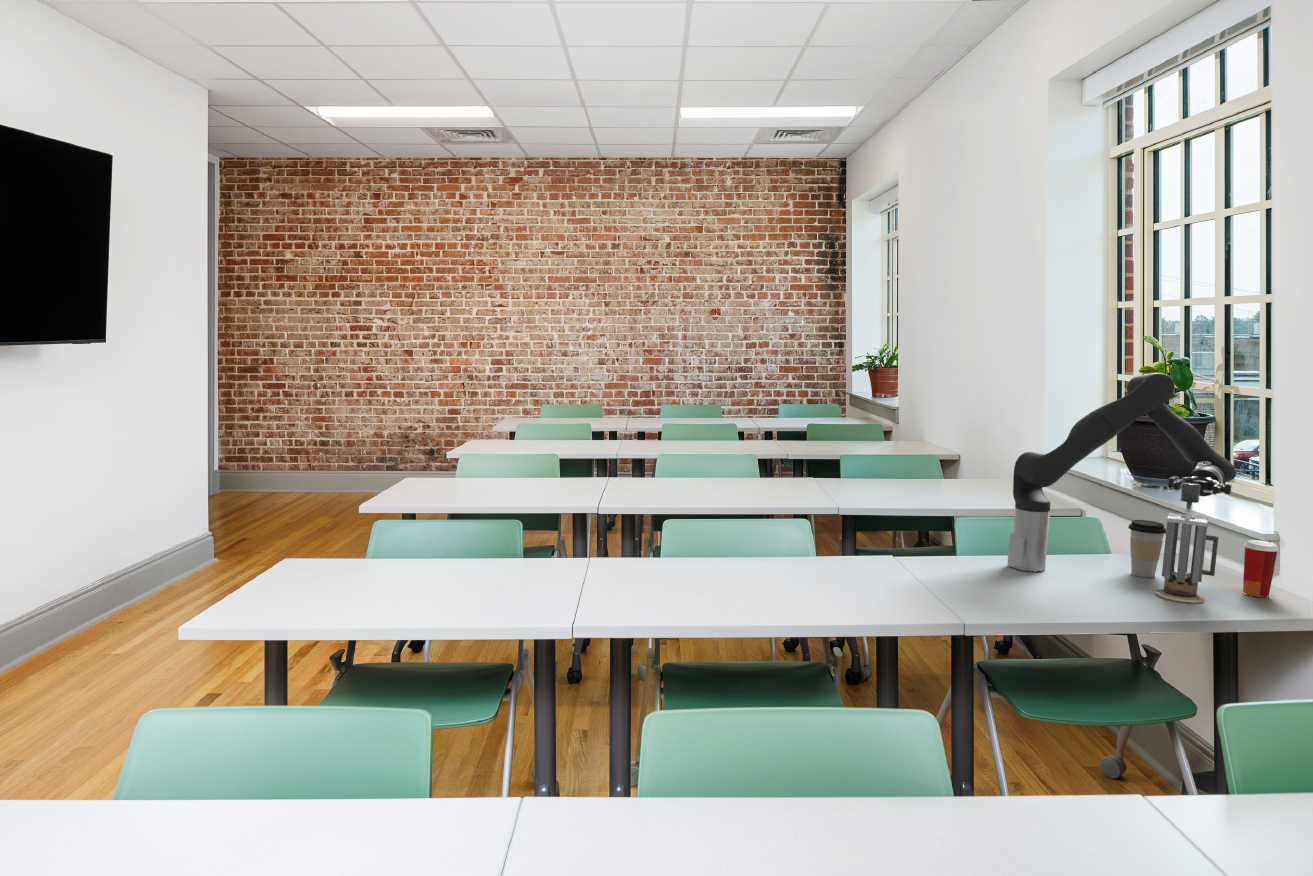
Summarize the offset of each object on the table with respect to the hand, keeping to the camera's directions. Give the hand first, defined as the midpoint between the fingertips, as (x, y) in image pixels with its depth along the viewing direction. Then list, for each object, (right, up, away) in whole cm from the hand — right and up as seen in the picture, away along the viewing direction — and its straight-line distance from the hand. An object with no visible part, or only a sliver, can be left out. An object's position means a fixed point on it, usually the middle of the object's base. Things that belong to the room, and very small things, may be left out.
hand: (1195, 488), depth 229 cm
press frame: (-6, -28, -3) cm, 29 cm away
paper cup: (+17, -28, +2) cm, 33 cm away
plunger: (-6, -23, -3) cm, 23 cm away
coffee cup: (-3, -26, +19) cm, 32 cm away
